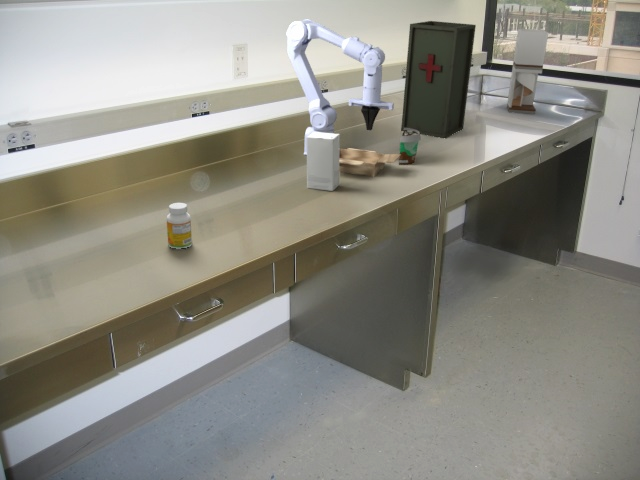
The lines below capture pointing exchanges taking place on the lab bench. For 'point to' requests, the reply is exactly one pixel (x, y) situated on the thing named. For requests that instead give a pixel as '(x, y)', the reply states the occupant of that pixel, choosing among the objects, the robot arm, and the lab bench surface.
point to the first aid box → (437, 77)
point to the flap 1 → (351, 162)
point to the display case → (526, 69)
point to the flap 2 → (389, 158)
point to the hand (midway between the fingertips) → (369, 129)
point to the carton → (368, 157)
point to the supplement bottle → (179, 226)
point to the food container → (408, 146)
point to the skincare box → (323, 161)
